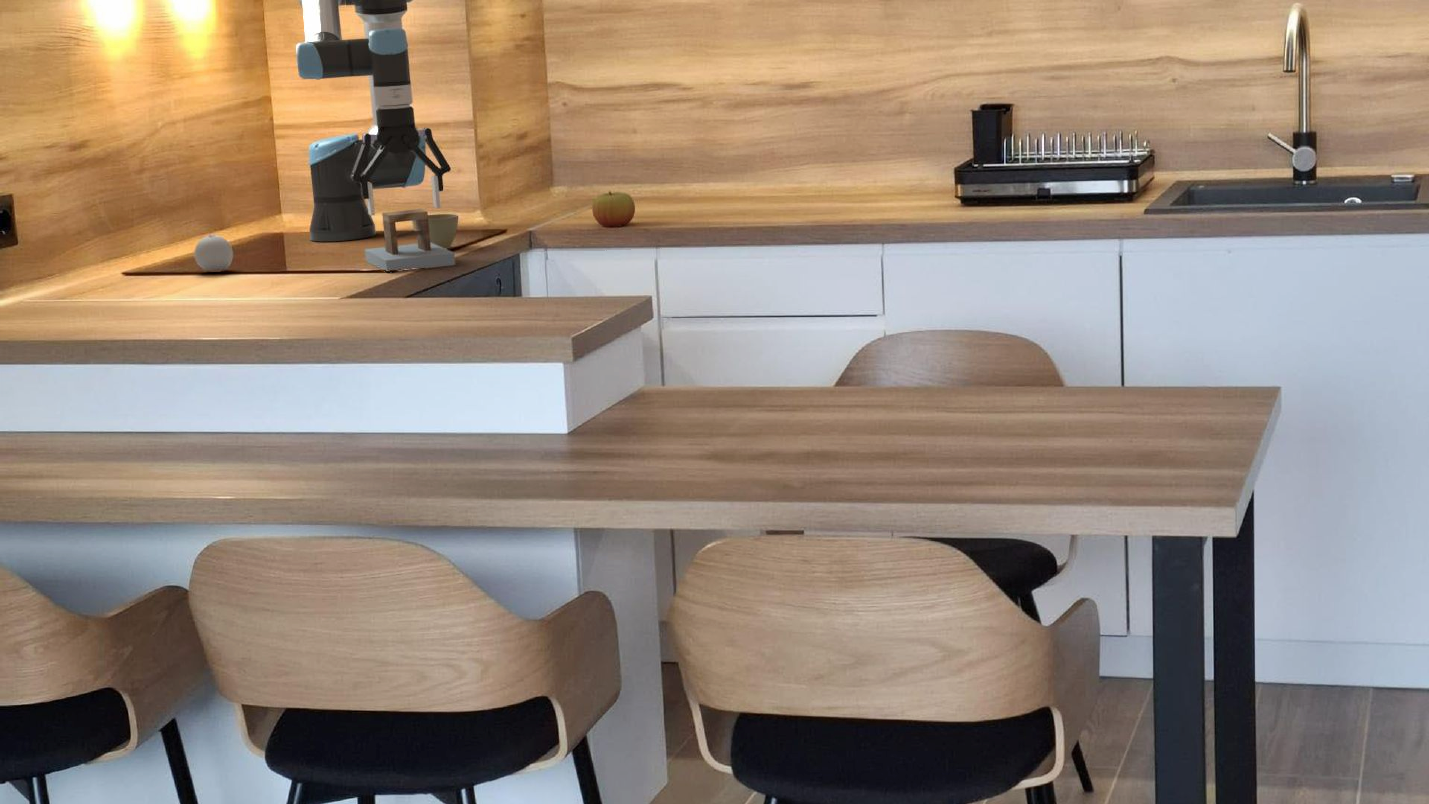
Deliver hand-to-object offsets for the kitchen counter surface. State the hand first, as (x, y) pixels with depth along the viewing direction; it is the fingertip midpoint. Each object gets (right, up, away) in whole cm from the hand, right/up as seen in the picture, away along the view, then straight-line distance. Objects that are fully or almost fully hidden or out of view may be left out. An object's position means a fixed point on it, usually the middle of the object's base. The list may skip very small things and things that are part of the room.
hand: (404, 211), depth 357 cm
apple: (+41, +1, +42) cm, 59 cm away
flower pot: (+4, -6, +20) cm, 21 cm away
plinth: (+1, -10, +2) cm, 11 cm away
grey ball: (-40, -12, +6) cm, 42 cm away
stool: (+1, -8, +2) cm, 8 cm away
